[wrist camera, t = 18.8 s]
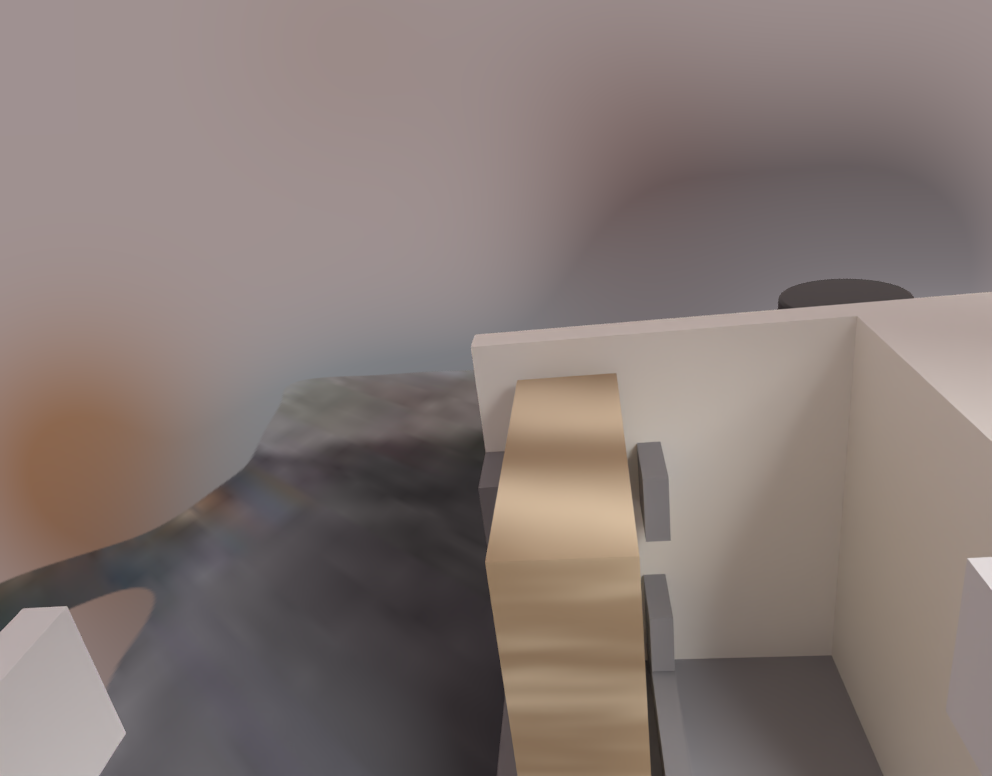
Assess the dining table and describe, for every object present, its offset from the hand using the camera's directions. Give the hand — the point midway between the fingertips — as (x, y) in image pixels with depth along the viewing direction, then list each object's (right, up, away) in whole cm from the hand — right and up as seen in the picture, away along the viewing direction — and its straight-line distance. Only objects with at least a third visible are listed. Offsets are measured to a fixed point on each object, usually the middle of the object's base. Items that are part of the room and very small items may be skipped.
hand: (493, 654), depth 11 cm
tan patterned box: (+4, -13, +20) cm, 24 cm away
